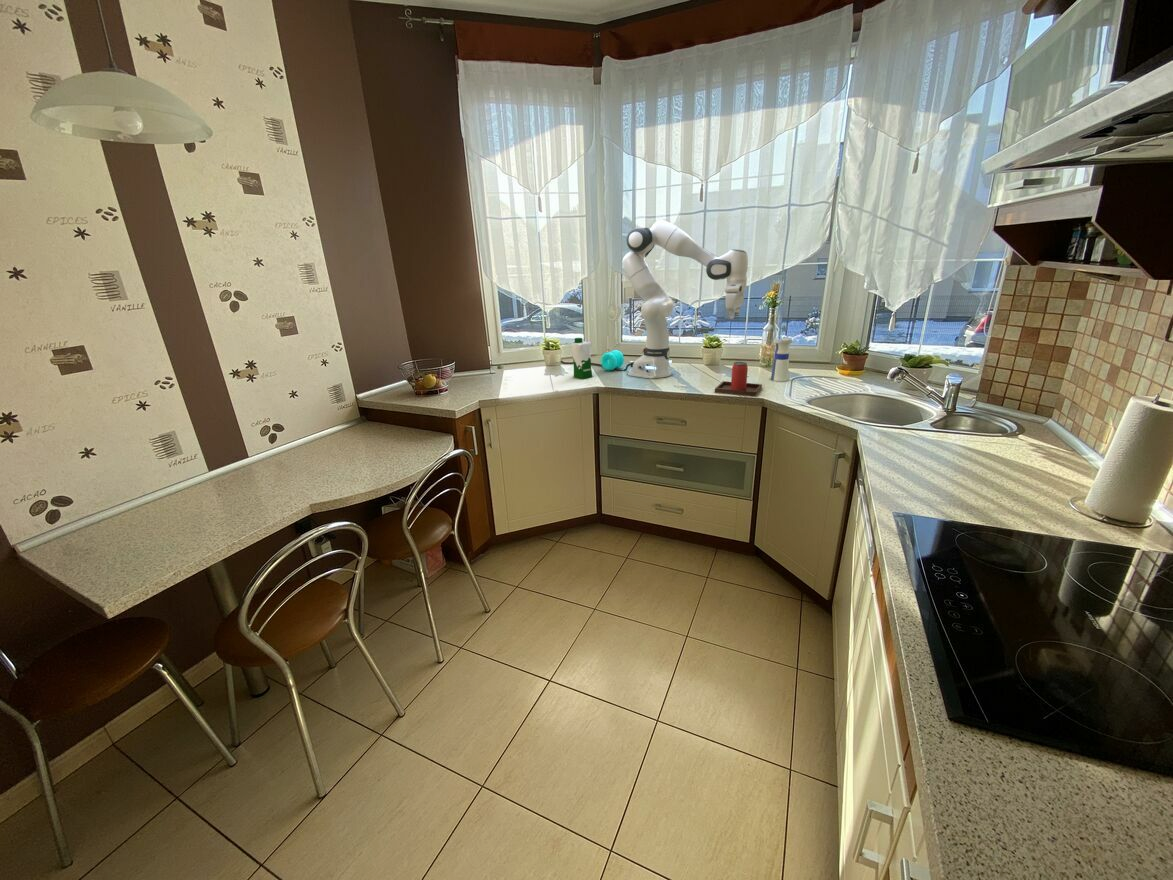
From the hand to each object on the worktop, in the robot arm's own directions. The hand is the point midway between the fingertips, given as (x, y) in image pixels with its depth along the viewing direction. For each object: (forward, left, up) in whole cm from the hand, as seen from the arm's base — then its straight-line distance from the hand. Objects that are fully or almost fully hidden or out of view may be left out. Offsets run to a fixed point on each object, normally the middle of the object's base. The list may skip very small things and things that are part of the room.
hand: (734, 317), depth 225 cm
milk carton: (-71, -23, -29) cm, 80 cm away
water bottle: (+22, +4, -29) cm, 37 cm away
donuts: (-64, -2, -29) cm, 70 cm away
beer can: (+9, -22, -29) cm, 37 cm away
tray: (+9, -22, -29) cm, 38 cm away
